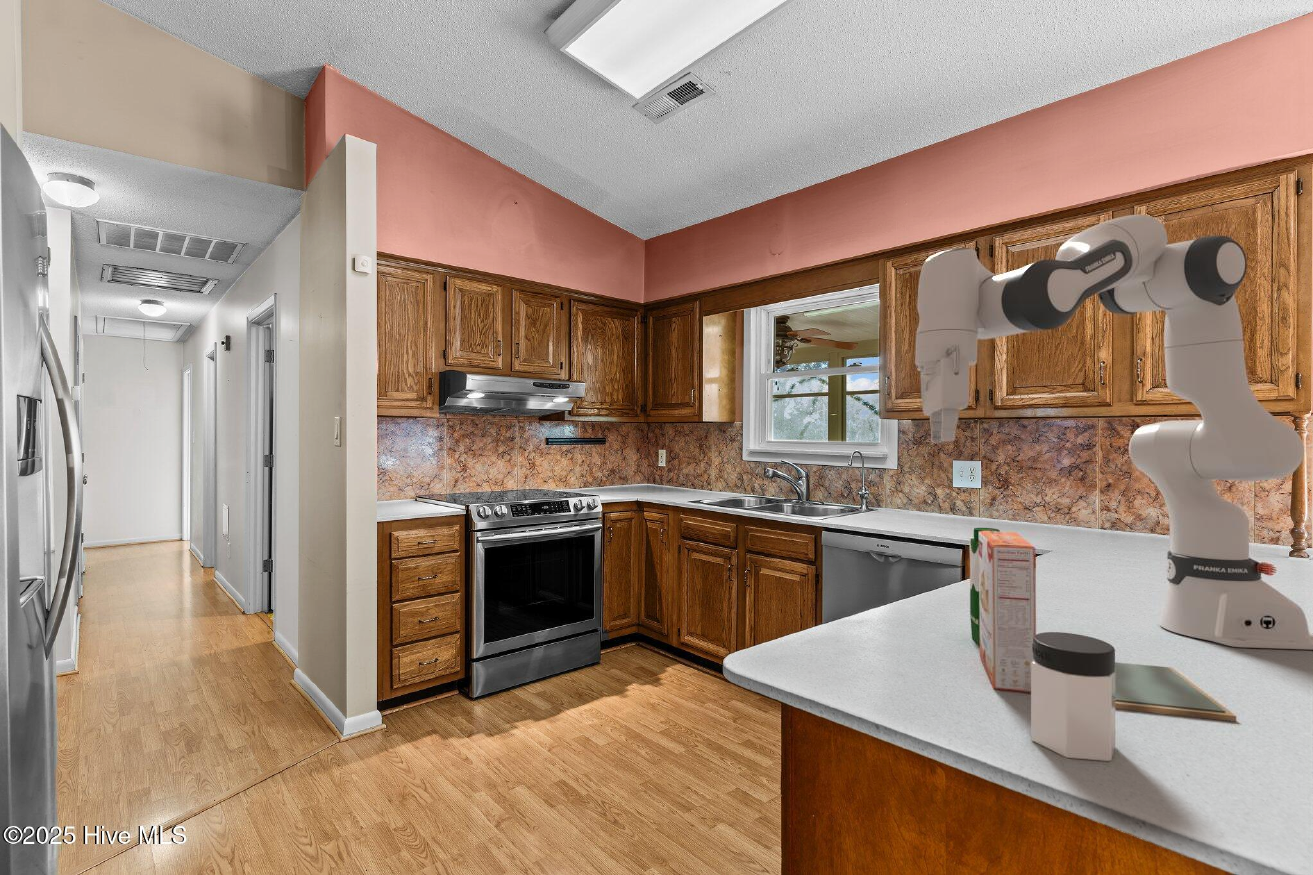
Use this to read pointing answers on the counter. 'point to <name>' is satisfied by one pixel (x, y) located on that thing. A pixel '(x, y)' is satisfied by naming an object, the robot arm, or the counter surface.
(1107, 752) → the jar
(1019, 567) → the cracker box
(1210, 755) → the counter surface
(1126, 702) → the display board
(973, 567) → the soya milk
